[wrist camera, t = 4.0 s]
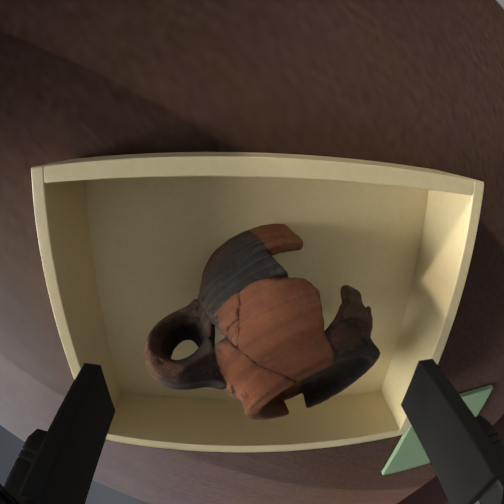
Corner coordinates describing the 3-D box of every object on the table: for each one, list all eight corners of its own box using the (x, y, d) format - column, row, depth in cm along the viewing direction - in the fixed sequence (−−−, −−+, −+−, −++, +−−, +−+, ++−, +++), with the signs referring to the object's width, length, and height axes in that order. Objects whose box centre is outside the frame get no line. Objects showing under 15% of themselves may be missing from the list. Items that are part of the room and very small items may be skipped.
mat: (490, 384, 24) (493, 387, 24) (448, 452, 28) (450, 456, 28) (418, 403, 24) (420, 407, 23) (380, 471, 28) (382, 475, 27)
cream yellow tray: (436, 169, 17) (485, 182, 13) (384, 392, 23) (405, 434, 18) (76, 158, 16) (30, 167, 12) (115, 394, 22) (98, 438, 17)
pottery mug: (331, 196, 18) (423, 309, 12) (312, 297, 24) (365, 389, 19) (112, 250, 15) (132, 413, 9) (157, 344, 22) (186, 453, 16)
